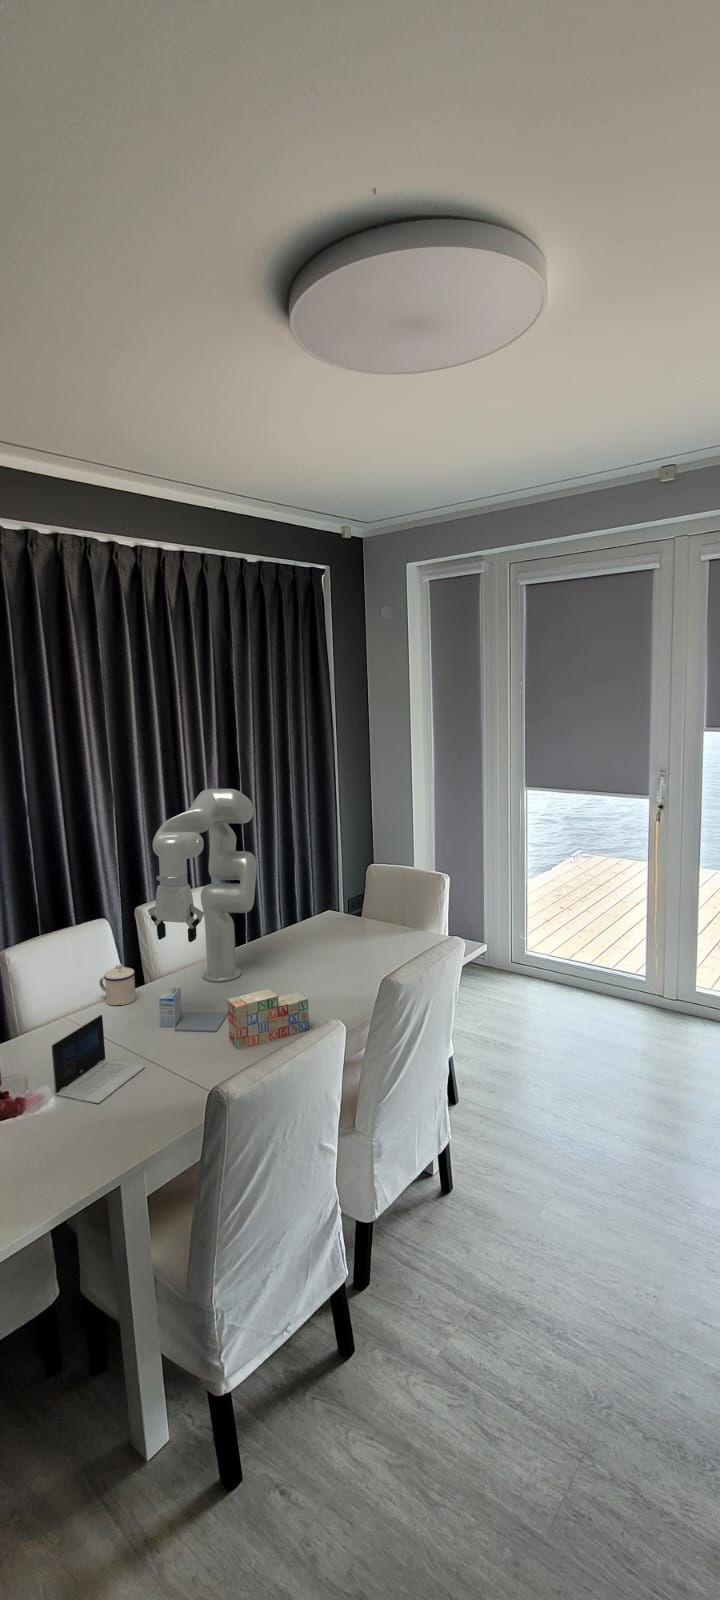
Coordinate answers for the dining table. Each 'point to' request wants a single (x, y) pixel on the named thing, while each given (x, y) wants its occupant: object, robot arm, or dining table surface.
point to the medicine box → (170, 1007)
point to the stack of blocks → (266, 1017)
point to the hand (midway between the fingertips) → (176, 939)
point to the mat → (202, 1021)
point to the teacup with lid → (119, 985)
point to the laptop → (87, 1065)
